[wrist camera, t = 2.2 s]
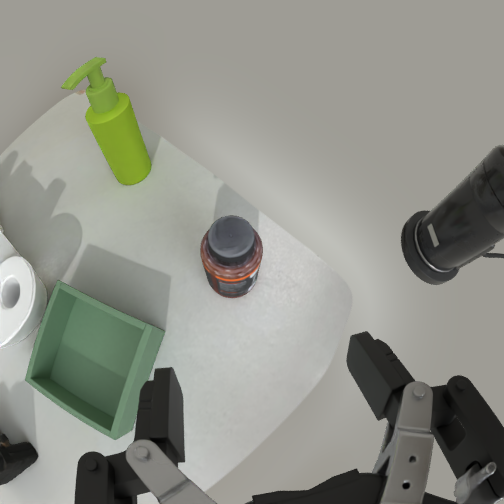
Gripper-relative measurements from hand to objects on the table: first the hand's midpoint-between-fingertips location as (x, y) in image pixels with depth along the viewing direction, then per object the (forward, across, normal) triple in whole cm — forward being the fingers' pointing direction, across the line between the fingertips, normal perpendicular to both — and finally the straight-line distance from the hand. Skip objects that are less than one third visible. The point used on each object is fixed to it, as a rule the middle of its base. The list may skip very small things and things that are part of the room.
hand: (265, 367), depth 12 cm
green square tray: (+16, +18, +13) cm, 28 cm away
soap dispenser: (+35, +13, -6) cm, 38 cm away
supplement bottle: (+22, 0, +7) cm, 23 cm away
